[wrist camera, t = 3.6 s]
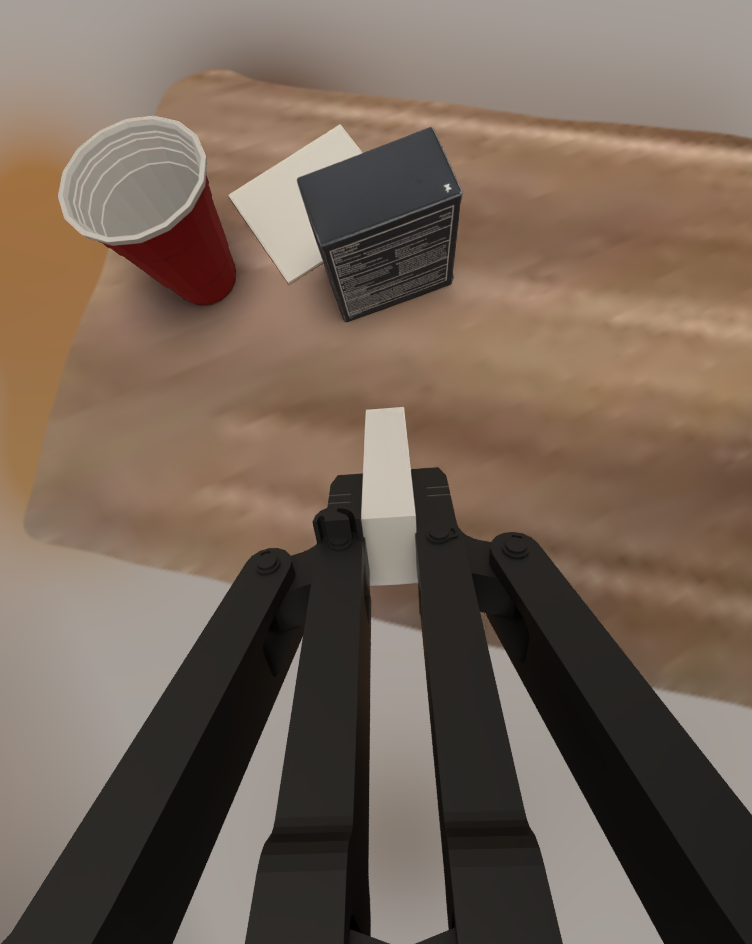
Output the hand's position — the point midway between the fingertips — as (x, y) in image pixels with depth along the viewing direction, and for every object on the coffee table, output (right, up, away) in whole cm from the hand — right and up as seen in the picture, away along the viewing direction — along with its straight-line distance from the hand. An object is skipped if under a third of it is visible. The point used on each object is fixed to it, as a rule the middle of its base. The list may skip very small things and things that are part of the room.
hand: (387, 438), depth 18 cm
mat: (-6, +24, +25) cm, 35 cm away
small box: (+1, +17, +23) cm, 28 cm away
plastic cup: (-17, +17, +25) cm, 34 cm away
